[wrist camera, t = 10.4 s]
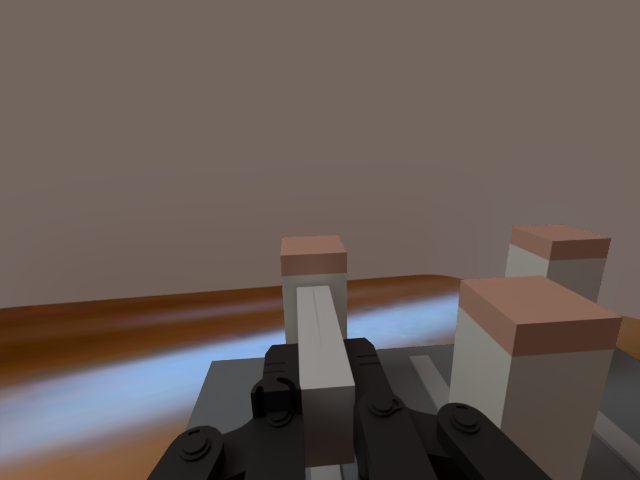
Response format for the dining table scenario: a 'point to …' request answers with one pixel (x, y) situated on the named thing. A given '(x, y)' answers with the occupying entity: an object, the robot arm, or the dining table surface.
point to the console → (439, 405)
